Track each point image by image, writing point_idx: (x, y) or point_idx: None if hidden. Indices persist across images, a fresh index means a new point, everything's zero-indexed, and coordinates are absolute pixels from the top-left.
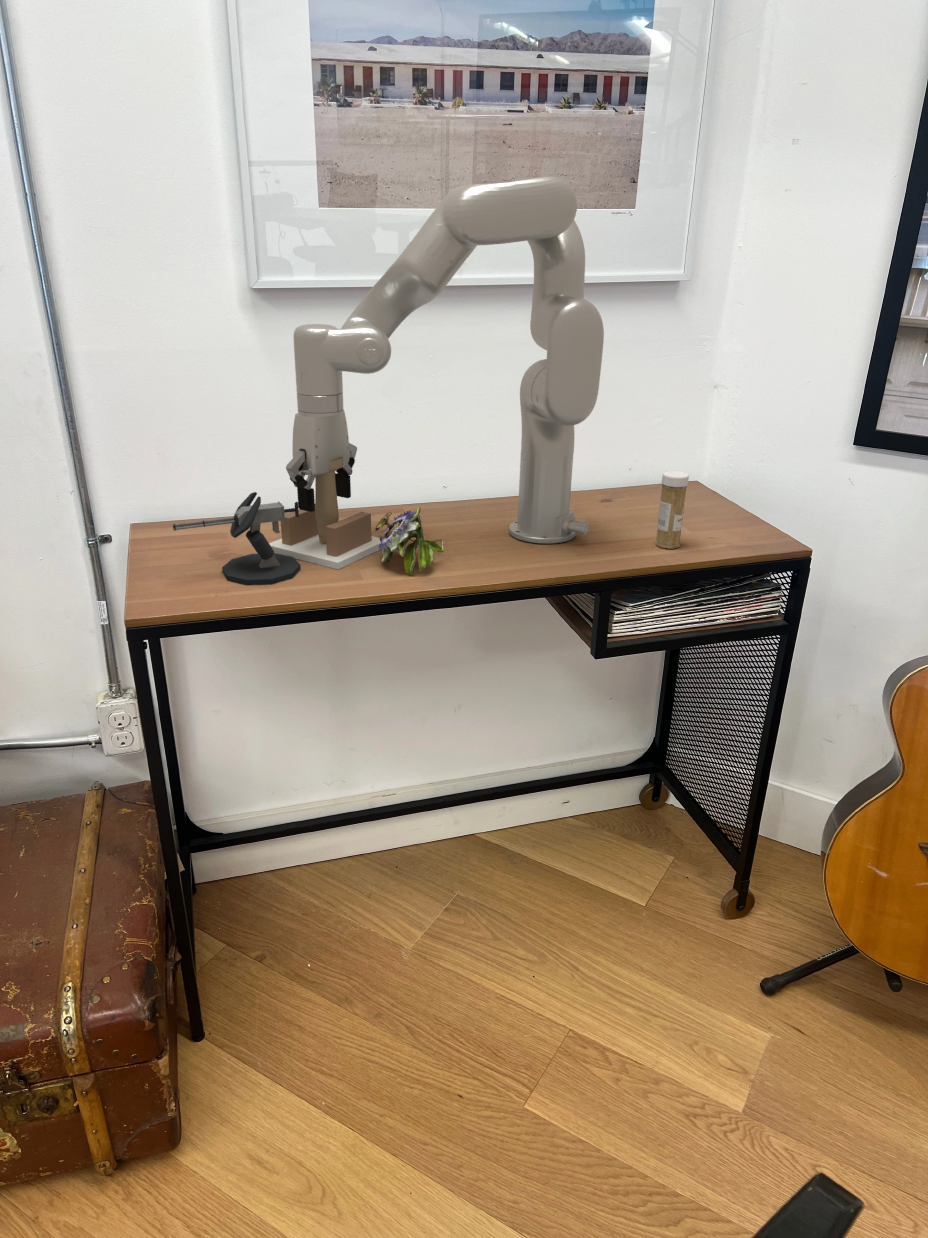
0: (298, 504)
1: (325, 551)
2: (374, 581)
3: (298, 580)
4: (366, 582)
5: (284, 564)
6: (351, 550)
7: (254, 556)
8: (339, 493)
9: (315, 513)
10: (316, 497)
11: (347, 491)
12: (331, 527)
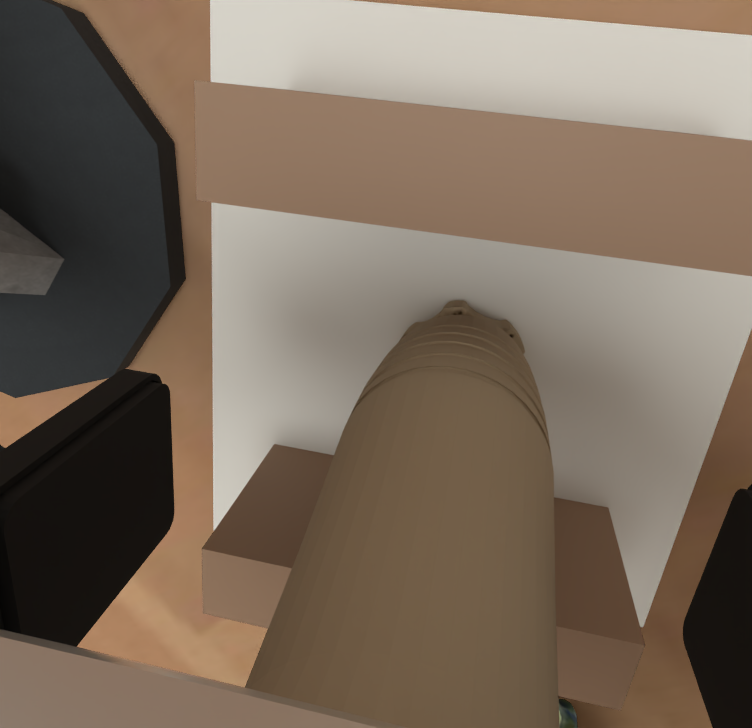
0: (103, 385)
1: (309, 417)
2: (208, 671)
3: (35, 420)
4: (183, 651)
5: (65, 304)
6: None
7: (39, 62)
8: (728, 561)
9: (378, 378)
10: (321, 494)
11: (704, 688)
12: (210, 587)
